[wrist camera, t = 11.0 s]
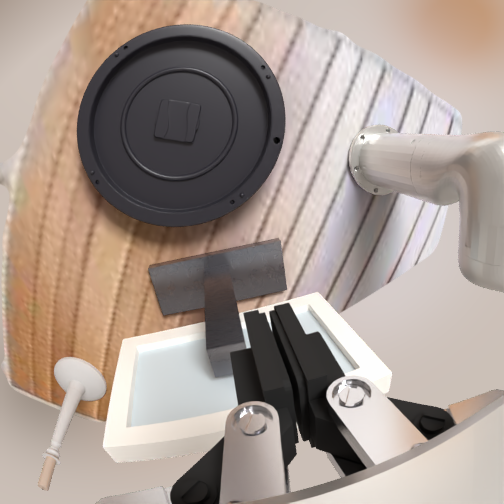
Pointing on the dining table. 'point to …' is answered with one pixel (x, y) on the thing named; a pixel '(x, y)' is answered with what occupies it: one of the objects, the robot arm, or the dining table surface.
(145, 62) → the round tray
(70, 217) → the dining table surface
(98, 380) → the candlestick
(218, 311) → the frame stand
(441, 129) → the dining table surface
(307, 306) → the picture frame
